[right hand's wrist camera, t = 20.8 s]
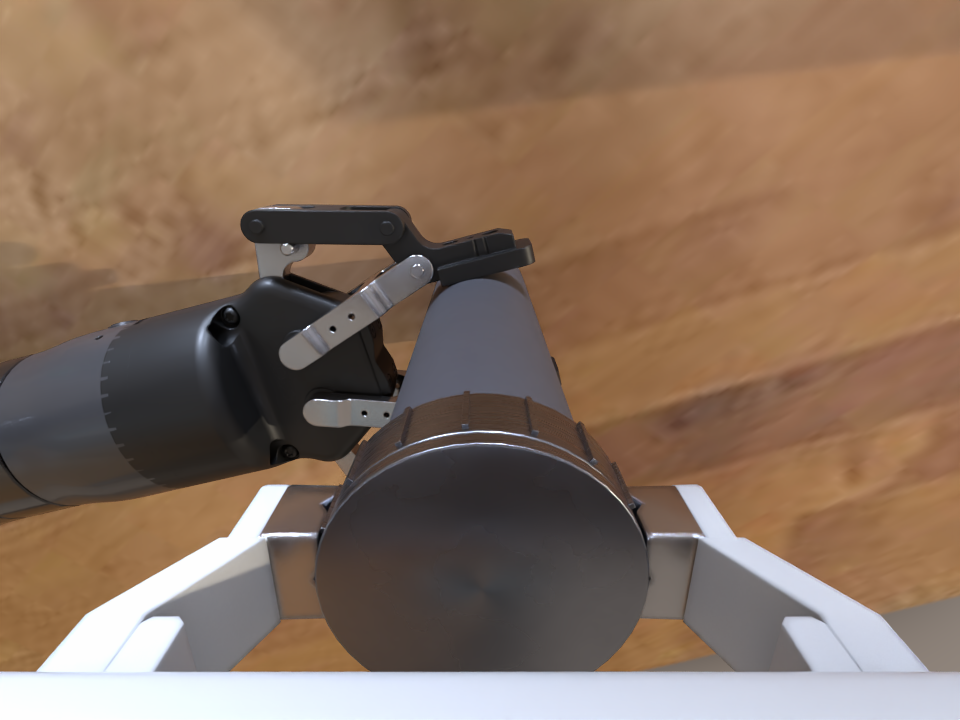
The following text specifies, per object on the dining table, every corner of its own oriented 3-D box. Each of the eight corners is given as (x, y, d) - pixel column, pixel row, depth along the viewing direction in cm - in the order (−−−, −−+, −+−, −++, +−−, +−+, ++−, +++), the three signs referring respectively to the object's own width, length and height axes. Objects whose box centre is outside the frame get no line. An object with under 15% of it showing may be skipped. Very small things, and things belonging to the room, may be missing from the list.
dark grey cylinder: (483, 228, 27) (492, 385, 8) (542, 294, 28) (662, 558, 10) (418, 289, 28) (298, 546, 9) (477, 350, 29) (474, 682, 11)
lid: (646, 591, 11) (677, 671, 9) (397, 648, 12) (383, 732, 10) (589, 353, 9) (614, 398, 7) (293, 434, 10) (253, 494, 8)
